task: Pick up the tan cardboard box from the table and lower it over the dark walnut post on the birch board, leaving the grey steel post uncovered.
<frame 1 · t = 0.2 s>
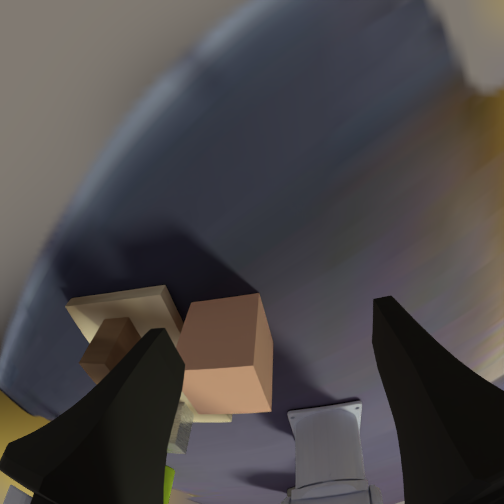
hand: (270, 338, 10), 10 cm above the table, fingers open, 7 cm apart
walnut post: (128, 320, 24), resting on birch board
tan cardboard box: (233, 323, 23), on the table
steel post: (180, 399, 30), resting on birch board
soap dispenser: (158, 465, 45), on the table
birch board: (156, 365, 27), on the table
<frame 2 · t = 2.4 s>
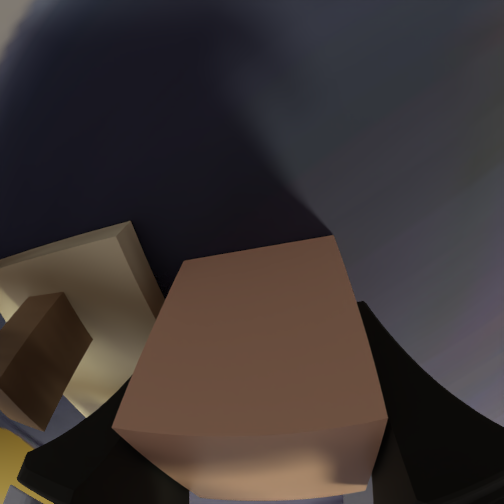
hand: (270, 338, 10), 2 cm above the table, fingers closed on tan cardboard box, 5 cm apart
walnut post: (71, 301, 12), resting on birch board
tan cardboard box: (271, 307, 11), on the table, touching gripper
birch board: (127, 384, 15), on the table
when the fingers open (4 cm above the table, at t = 6.6 s): tan cardboard box drops 1 cm, resting on birch board.
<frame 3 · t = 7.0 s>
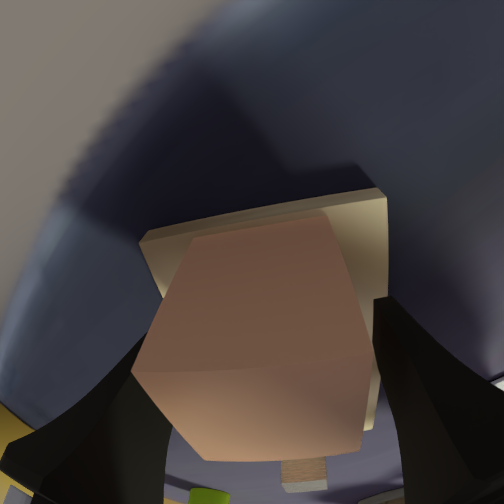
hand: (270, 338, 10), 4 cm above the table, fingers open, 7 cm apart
tankard: (407, 488, 35), on the table
tan cardboard box: (271, 283, 13), point 1 cm above the table, touching birch board
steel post: (303, 408, 19), resting on birch board
soap dispenser: (209, 491, 34), on the table
birch board: (292, 356, 17), on the table
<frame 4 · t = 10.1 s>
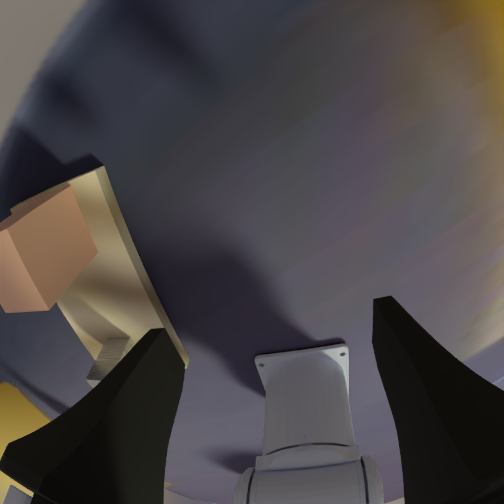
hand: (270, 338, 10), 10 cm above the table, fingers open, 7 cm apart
tan cardboard box: (59, 227, 19), point 1 cm above the table, touching birch board
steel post: (129, 338, 26), resting on birch board
birch board: (99, 286, 23), on the table
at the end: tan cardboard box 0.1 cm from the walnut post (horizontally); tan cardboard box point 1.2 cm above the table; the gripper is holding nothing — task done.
